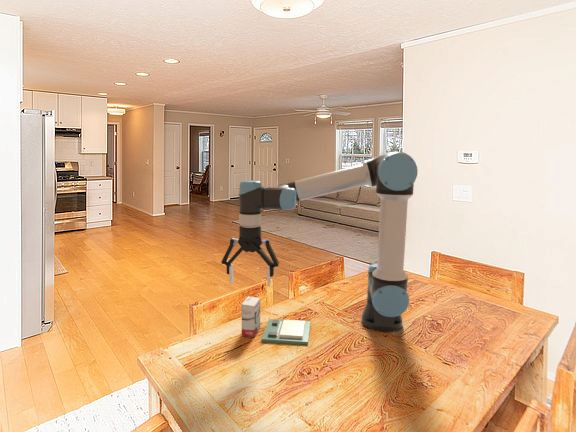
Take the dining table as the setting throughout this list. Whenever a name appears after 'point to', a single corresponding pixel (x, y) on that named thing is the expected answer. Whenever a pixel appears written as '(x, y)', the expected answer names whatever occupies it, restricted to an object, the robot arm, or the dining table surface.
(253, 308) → the ink box
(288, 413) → the dining table surface
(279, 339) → the board
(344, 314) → the dining table surface
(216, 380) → the dining table surface
